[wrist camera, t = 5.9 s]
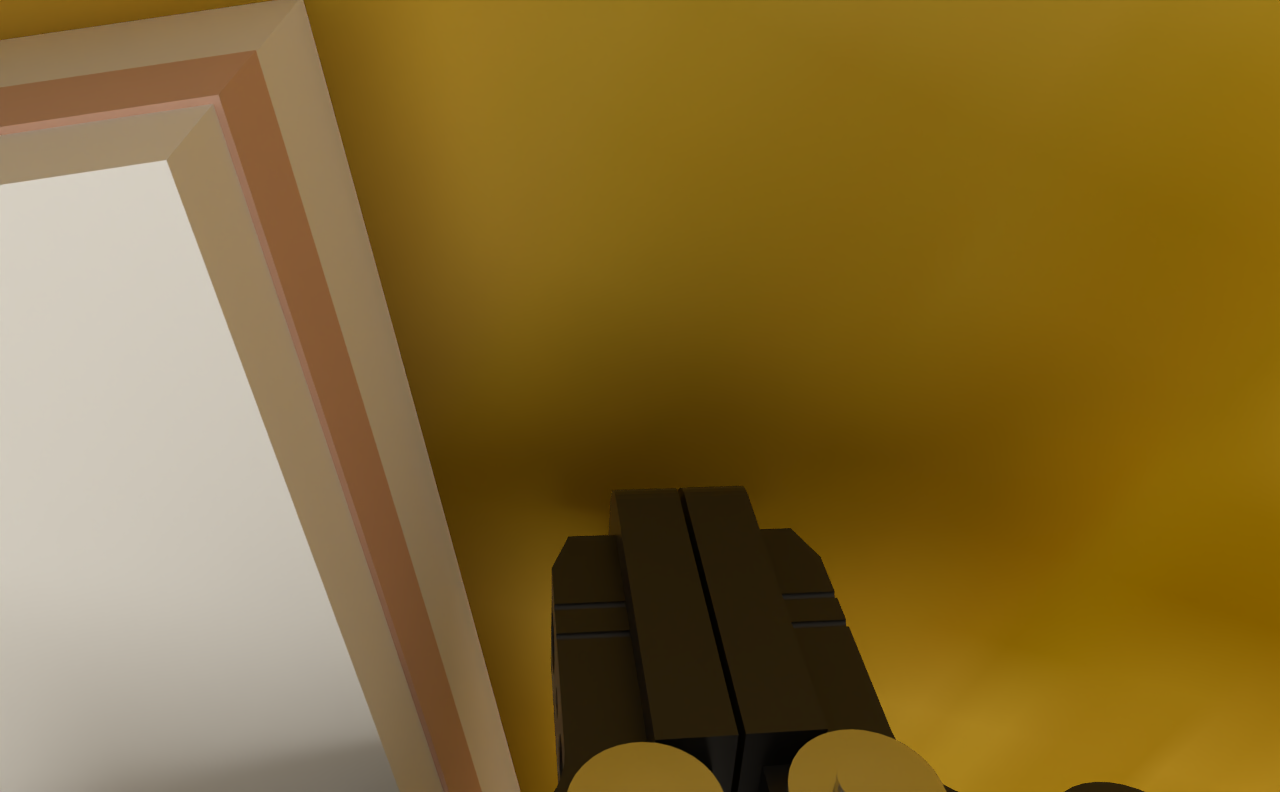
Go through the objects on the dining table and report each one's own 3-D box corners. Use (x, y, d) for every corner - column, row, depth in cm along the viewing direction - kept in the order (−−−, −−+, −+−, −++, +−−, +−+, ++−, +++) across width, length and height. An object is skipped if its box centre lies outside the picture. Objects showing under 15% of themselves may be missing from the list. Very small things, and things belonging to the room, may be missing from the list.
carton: (311, -18, 10) (172, 149, 6) (530, 797, 16) (541, 1161, 12) (-678, 126, 10) (-1610, 417, 5) (-60, 899, 16) (-262, 1312, 12)
